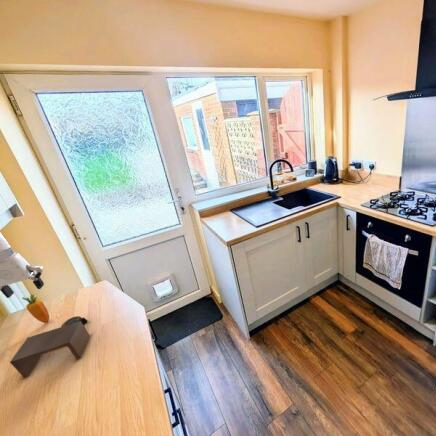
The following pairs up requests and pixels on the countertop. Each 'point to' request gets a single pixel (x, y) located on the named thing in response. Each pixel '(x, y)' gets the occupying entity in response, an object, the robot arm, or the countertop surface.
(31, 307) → the carrot
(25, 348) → the dark brown riser stand
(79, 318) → the tape measure
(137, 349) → the countertop surface
